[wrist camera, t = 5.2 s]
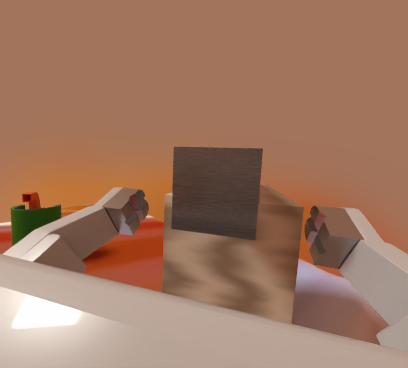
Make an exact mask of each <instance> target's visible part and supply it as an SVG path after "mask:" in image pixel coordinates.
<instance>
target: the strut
mask: <svg viewBox="0 0 408 368" xmlns="http://www.w3.org/2000/svg"><path fill="white" fill-rule="evenodd" d="M262 152H263V149H254V148H253V149H252V148H205V147H203V148H202V147H174V161H173V162H174V163H173V192H172V223H171V229H176V230H183V231H191V232H198V233H205V234H212V235H220V236H227V237H234V238H241V239H249V240H255V239H256V227H257V215H258V202H259V190H260V177H261V164H262Z"/></svg>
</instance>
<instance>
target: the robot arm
mask: <svg viewBox="0 0 408 368" xmlns="http://www.w3.org/2000/svg"><path fill="white" fill-rule="evenodd" d="M144 197H145V194H144V192H143V191H142V190H139V189H131V188H121V187H115V188H113V189H112V190H111V191H110V192H109V193H107V194H106V195H105V196H104V197H103V198H102V199H100V200H99V201H98V202H97V203H96V204H95V205H94V206H89V207H87V208H84V209H82V210H80V211H77V212H75V213H73V214H70V215H68V216H66V217H63V218H61V219H59V220H56V221H54V222H51V223H49V224H47V225H44V226H42V227H40V228H37V229H35V230H34V231H32V232H31V233H30V234H28V235H27V236H26V237H25V238H23V239H22V240H21V241H19V242H18V243H17V244H15V245H14V246H13V247H11V248H10V249H9V250H7V251H6V252H5V253H3V254H0V368H408V255H407V254H406V253H404V252H402V251H401V250H399V249H398V248H396V247H395V246H393V245H391V244H389V243H384V242H383V240H382V239H381V238H380V237H379V235H378V234H377V232H376V231H375V230H374V229H373V227H372V226H371V225H370V223H369V222H368V221H367V219H366V218H365V217H364V215H363V214H362V213H361V211H360V210H358V209H354V208H337V207H325V206H313V207H312V208H311V211H310V214H311V217H310V218H309V219H307V221H306V224H305V237H306V240H307V242H309V243H310V244H311V248H310V253H311V256H312V259H313V262H314V265H320V266H325V267H331V268H335V269H339V271H340V272H341V274H343V276H344V277H345V278H346V279H347V280H348V281H349V282H350V283H351V284H352V285H353V287H354V288H355V289H356V290H357V291H358V292H359V293H360V294H361V295H362V296H363V297H364V298H365V299H366V301H367V302H368V303H369V304H370V305H371V306H372V307H373V308H374V309H375V310H376V311H377V312H378V313H379V315H380V316H381V317H382V318H383V319H384V320H385V321H386V322H387V323H388V324H389V326H387V327H386V328H384V329H383V330H381V331H379V332H378V334H377V335H376V336H377V339H378V341H379V343H380V345H378V344H374V343H370V342H366V341H362V340H358V339H353V338H349V337H345V336H341V335H337V334H333V333H328V332H324V331H320V330H316V329H312V328H308V327H303V326H299V325H295V324H291V323H287V322H283V321H278V320H274V319H270V318H266V317H262V316H258V315H253V314H249V313H245V312H241V311H237V310H233V309H228V308H224V307H220V306H216V305H212V304H208V303H203V302H199V301H195V300H191V299H187V298H183V297H178V296H174V295H170V294H166V293H162V292H158V291H153V290H149V289H145V288H141V287H137V286H133V285H128V284H124V283H120V282H116V281H112V280H108V279H103V278H99V277H95V276H91V275H87V274H83V272H84V271H85V270H86V265H85V264H84V263H83V262H82V260H83V259H84V258H86V257H87V256H89V255H90V254H91V253H93V252H94V251H96V250H97V249H98V248H100V247H101V246H103V245H104V244H106V243H107V242H108V241H110V240H111V239H113V238H114V237H115V236H117V235H118V234H119V233H120V234H128V235H134V233H135V232H136V230H137V229H138V228H139V226H140V221H142V220H144V219H145V217H146V216H147V214H148V210H149V209H148V208H149V207H148V203H147V201H146V200H144Z"/></svg>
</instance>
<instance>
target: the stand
mask: <svg viewBox="0 0 408 368" xmlns="http://www.w3.org/2000/svg"><path fill="white" fill-rule="evenodd" d="M303 211H304V207H303V206H301V205H299V204H298V203H296V202H294V201H293V200H291V199H289V198H288V197H286V196H284V195H283V194H281V193H279V192H278V191H276V190H275V189H273V188H271V187H269V186H268V185H260V190H259V202H258V215H257V227H256V239H255V240H249V239H241V238H234V237H227V236H220V235H212V234H205V233H198V232H191V231H183V230H176V229H171V223H172V193H169V194H166V195H165V211H164V246H163V283H162V293H166V294H170V295H174V296H178V297H183V298H187V299H191V300H195V301H199V302H203V303H208V304H212V305H216V306H220V307H224V308H228V309H233V310H237V311H241V312H245V313H249V314H253V315H258V316H262V317H266V318H270V319H274V320H278V321H283V322H287V323H291V324H292V315H293V305H294V296H295V286H296V277H297V267H298V258H299V249H300V239H301V229H302V220H303Z"/></svg>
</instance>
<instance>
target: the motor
mask: <svg viewBox="0 0 408 368" xmlns="http://www.w3.org/2000/svg"><path fill="white" fill-rule="evenodd" d="M22 196H23V197H22V198H23V202H29V209H27V210H25V205H19V206H15V207H12V208H11V224H12V245H13V246H14V245H15V244H17V243H18V242H19V241H21V240H22V239H23V238H25V237H26V236H27V235H28V234H30V233H31V232H32V231H34V230H35V229H37V228H40V227H42V226H44V225H47V224H49V223H51V222H54V221H56V220H59V219H61V205H56V206H54V207H49V208H41V207H40V200H39V196H38V194H37V193H36V192H34V193H33V192H27V193H24V194H22Z"/></svg>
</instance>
